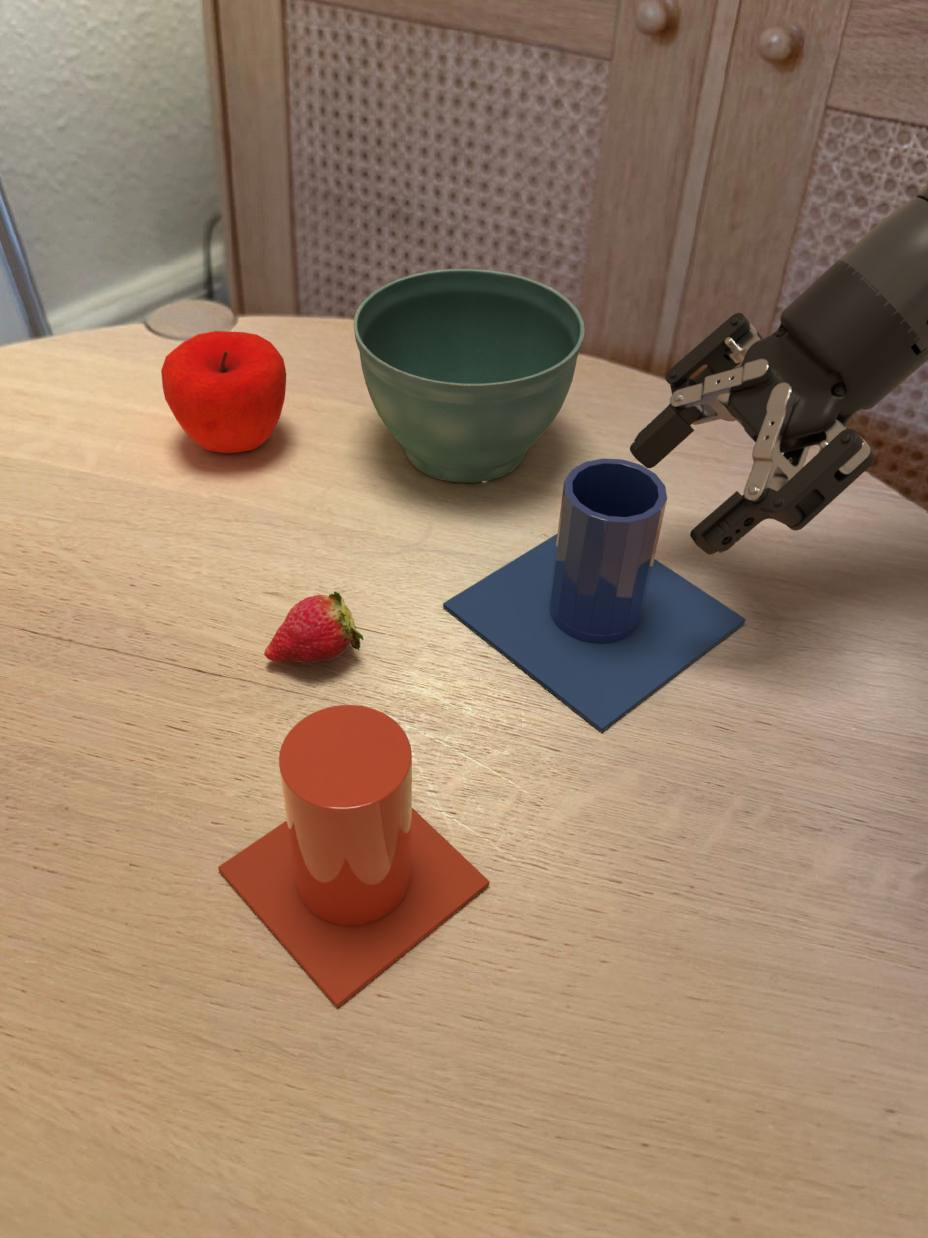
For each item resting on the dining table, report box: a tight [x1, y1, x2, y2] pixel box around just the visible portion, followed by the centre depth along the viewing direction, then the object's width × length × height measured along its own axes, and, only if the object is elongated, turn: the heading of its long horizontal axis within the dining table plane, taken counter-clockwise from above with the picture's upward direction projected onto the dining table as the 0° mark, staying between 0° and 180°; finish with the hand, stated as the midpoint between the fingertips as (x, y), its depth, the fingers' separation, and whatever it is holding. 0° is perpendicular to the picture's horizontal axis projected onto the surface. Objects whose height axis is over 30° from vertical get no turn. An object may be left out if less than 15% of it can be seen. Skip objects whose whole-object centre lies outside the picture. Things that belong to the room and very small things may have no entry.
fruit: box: [263, 591, 364, 664], centre depth 66 cm, size 4×6×5 cm
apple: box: [160, 330, 287, 454], centre depth 80 cm, size 9×9×8 cm
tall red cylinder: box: [278, 704, 413, 926], centre depth 52 cm, size 6×6×10 cm
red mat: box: [217, 807, 491, 1009], centre depth 56 cm, size 10×10×1 cm
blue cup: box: [549, 458, 668, 643], centre depth 67 cm, size 6×6×10 cm
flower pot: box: [353, 268, 585, 484], centre depth 79 cm, size 16×16×11 cm
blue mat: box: [442, 532, 747, 733], centre depth 71 cm, size 14×14×1 cm
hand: (667, 501), depth 66 cm, fingers open, 8 cm apart
